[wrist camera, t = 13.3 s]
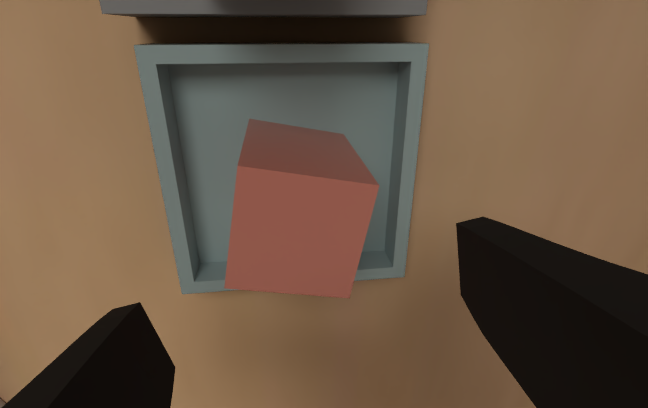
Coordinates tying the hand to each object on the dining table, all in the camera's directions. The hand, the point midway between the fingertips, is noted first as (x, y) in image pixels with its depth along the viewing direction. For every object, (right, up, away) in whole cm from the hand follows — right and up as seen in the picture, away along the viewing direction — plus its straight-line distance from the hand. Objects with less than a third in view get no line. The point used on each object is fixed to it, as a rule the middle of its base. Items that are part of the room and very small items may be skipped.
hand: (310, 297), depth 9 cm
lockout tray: (-1, +4, +8) cm, 9 cm away
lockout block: (-1, +4, +8) cm, 9 cm away
